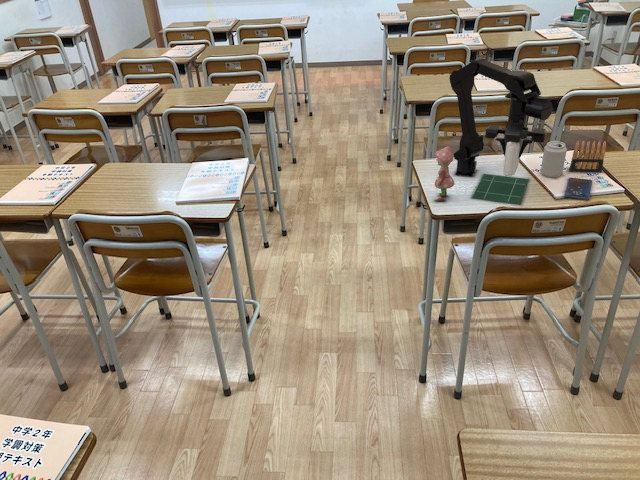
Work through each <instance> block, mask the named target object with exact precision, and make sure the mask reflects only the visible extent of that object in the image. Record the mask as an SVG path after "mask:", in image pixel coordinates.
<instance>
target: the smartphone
mask: <svg viewBox="0 0 640 480" xmlns="http://www.w3.org/2000/svg"><path fill="white" fill-rule="evenodd" d="M592 185H593V180H592V179H587V178H579V177H568V180H567V183H566V188H565V191H564V197H565V198H569V199H570V198H571V199H576V200H577V199H578V200H583V201H584V200H585V201H588V200H590V197H591V192H592V191H591V190H592Z"/></svg>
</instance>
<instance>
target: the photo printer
mask: <svg viewBox="0 0 640 480" xmlns="http://www.w3.org/2000/svg"><path fill="white" fill-rule="evenodd" d="M522 142H523V139H520V142H518V143H515V142H507V146H506V153H505V156H504V160H503V161H504V162H503V169H502V174H503V176H506V177H513V176H515V175H516V173H517V170H518V168H519V163H520V158H519V153H520V150H521V146H522Z"/></svg>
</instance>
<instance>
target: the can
mask: <svg viewBox="0 0 640 480" xmlns="http://www.w3.org/2000/svg"><path fill="white" fill-rule="evenodd" d="M566 145H567V144H566V143H565V142H562V141H559V140H553V141H549V142H547V143H546V145H545V146H544V148H543V152H542V153H543V154H542V160H541V165H540V173H541V174H542V175H543V176H544V177H546V178H558V177H560V176H561V175H562V174H563V172H564V166H565V161H566V156H567V151H568V148H567V146H566Z"/></svg>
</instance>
